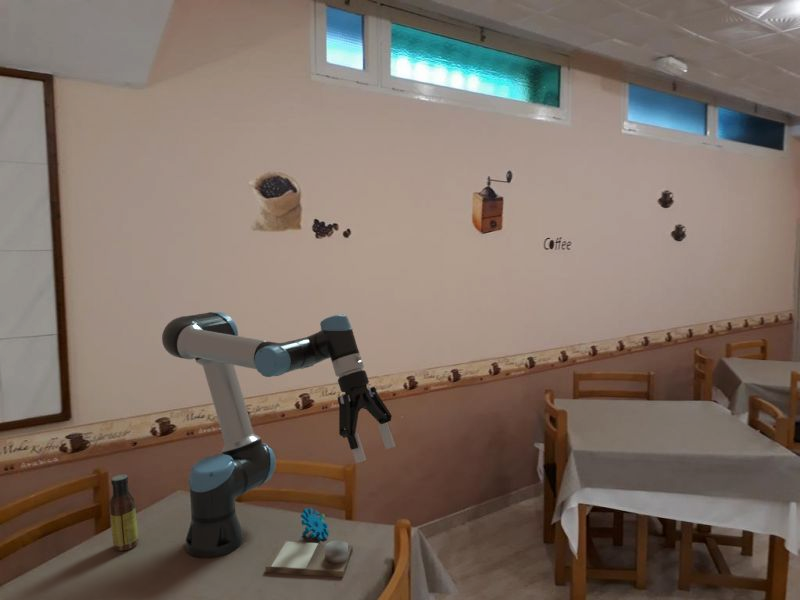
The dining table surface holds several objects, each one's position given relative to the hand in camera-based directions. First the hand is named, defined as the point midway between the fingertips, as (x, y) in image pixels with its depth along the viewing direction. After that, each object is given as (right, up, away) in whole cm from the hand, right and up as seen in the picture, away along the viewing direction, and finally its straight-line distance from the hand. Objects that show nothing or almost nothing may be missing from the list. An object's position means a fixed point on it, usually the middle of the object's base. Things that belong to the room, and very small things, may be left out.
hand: (376, 454), depth 140 cm
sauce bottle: (-70, -29, +14) cm, 77 cm away
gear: (-18, -29, +19) cm, 39 cm away
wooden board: (-18, -30, +6) cm, 35 cm away
